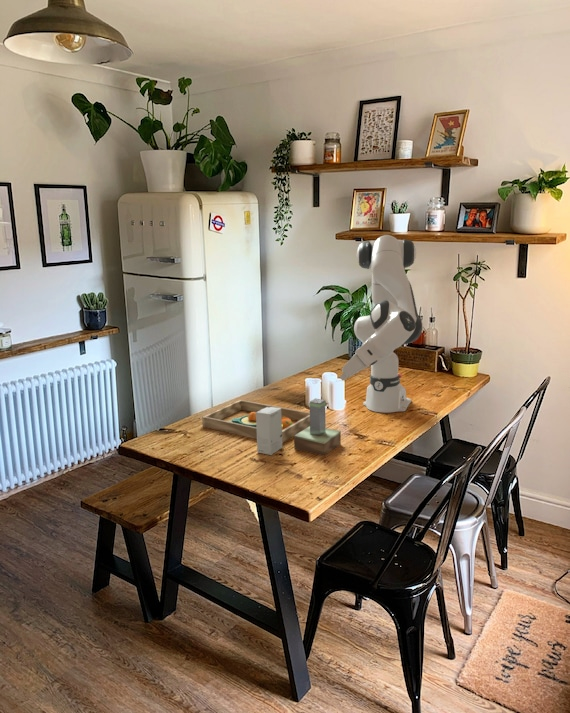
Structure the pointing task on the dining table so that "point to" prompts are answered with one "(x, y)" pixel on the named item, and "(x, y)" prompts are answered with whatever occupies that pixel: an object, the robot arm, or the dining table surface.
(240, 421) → the toy juicer set
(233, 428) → the shallow serving tray
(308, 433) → the block
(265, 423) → the skincare box
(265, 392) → the dining table surface
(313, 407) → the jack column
